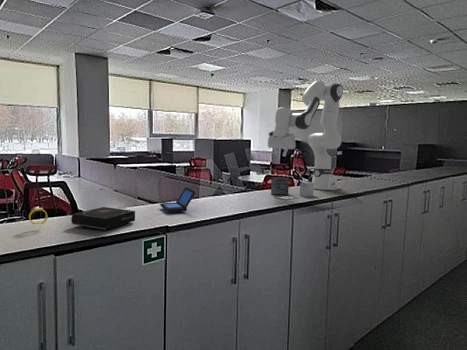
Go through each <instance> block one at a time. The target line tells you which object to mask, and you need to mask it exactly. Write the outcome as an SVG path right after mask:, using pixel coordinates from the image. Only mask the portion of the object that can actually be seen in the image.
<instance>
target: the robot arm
mask: <svg viewBox="0 0 467 350" xmlns="http://www.w3.org/2000/svg"><path fill="white" fill-rule="evenodd" d="M343 94H344V88H343V85H341V84H340V83H324V81H322V80H320V79H319V80H314V81H313V82H312V83H311V84H310V85H309V86H308V87H306V89H305V90H304V91H303V94H302V96H301V98H302V99H301V100H302V102H303V104H304V105H305V106H306V109H305V110H304V111H303V112H296V113H295V112H293V111H291V109H290V107H288V106H283V107H282V106H281V107H278V108H277V109H276V112H275V120H274V122H275V126H274V130H272V131H270V132H268V138H267V147H268V149H269V148H270V149H274V153H275V156H276V157H279V156H280V155H281V154H280V152H279V149H280V150H281V149H283V152H282V157H286V156H287V152H288V151H289V150H295V149H296V135H294V133H290V129H295V130H297V129H298V130H307V129H308V128H309V127H310V126H311V124H312V120H313V118H314V116H315V115H316V112H317V111H318V109H319V107H320V103H321V101H323V102H324V104H323V107H322V111H321V117H320V120H319V124H320V126H321V127H323V132H314V133H311V134H310V135H308V137H307V138H308V139H307V143H308V145H309V146H310V147H311V149H312V152H313V154H314V168H313V176H312V179H311V182H312V183H314V188H313V190H322V191H326V190H327V191H328V190H329V191H335V190H339V189H342V187H341V186H339V184H338V183H339V181H338V179H337V178H336V177H335V176H334V175H333V173H334V172H335V168H334V169H332V156H331V155H329V154H328V152H327V149H328V150H334V149H338V148H339V147H340V146H341V145H342V137H341V135H340V134H339V132H338V129H337V123H338V117H339V113H340V100H341V99H342V97H343Z"/></svg>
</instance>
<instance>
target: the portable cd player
mask: <svg viewBox="0 0 467 350" xmlns="http://www.w3.org/2000/svg"><path fill="white" fill-rule="evenodd" d="M70 221H71V224H72V225H76V226H82V227H87V228H95V229H100V230H109V229H113V228H116V227H120V226H122V225H126V224H128V223H132V222H136V211H135V210H131V209H130V210H129V209H121V208H114V207H106V206H101V207H98V208H92V209H88V210H83V211H79V212H74V213H71V220H70Z"/></svg>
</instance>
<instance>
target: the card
mask: <svg viewBox="0 0 467 350" xmlns="http://www.w3.org/2000/svg"><path fill="white" fill-rule="evenodd" d="M274 199H277V200H282V201H288V200H289V201H290V200H296V199H299V197H298V196H292V195H282V196H277V197H276V196H275V198H274Z"/></svg>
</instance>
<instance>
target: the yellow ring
mask: <svg viewBox="0 0 467 350" xmlns="http://www.w3.org/2000/svg"><path fill="white" fill-rule="evenodd" d="M41 211H42V212H44V213H45V218H44V220H43V221H41V222H34V221H32V219H31V217H32V214H34V212H41ZM28 219H29V222H30V223H31V224H32V225H43V224H45V222H47V220H48V213H47V212H46V210H44V208H43V207H34V209H32V210H31V211H30V212H29V214H28Z"/></svg>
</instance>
